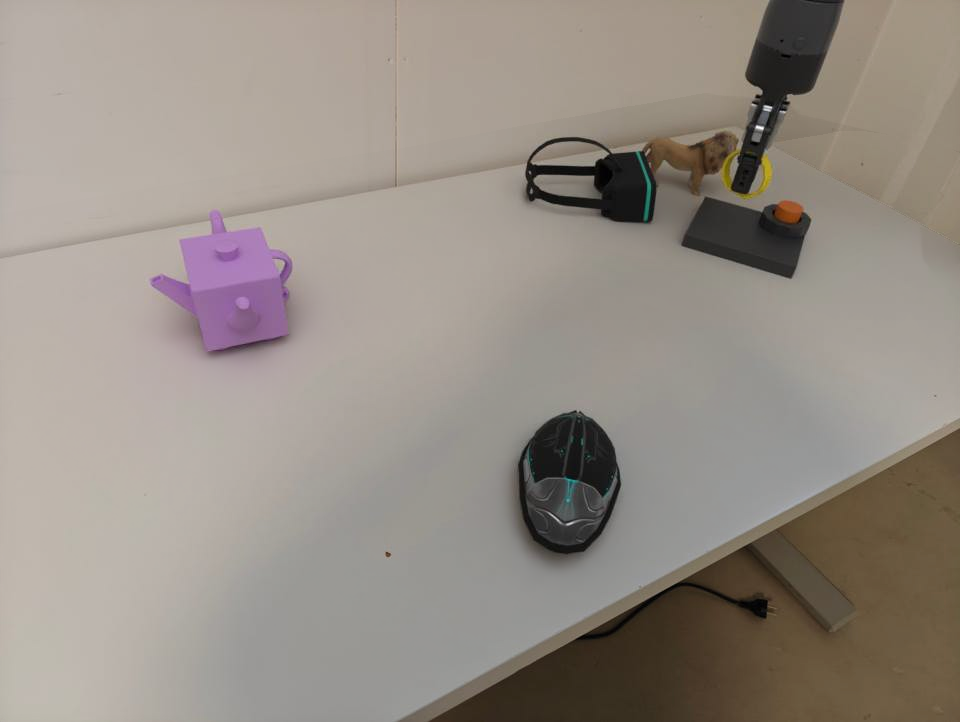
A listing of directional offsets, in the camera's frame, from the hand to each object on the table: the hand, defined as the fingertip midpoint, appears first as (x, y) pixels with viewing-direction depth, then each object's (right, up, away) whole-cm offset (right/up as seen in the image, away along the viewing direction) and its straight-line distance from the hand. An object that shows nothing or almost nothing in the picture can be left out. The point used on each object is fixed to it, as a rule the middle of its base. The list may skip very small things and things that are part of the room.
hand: (741, 185), depth 85 cm
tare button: (+8, -3, +6) cm, 10 cm away
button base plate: (+3, -6, +6) cm, 9 cm away
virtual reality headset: (-18, 0, +12) cm, 21 cm away
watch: (0, -1, +1) cm, 1 cm away
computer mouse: (-25, -33, -26) cm, 49 cm away
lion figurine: (-3, +4, +18) cm, 19 cm away
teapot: (-58, -18, -14) cm, 62 cm away
